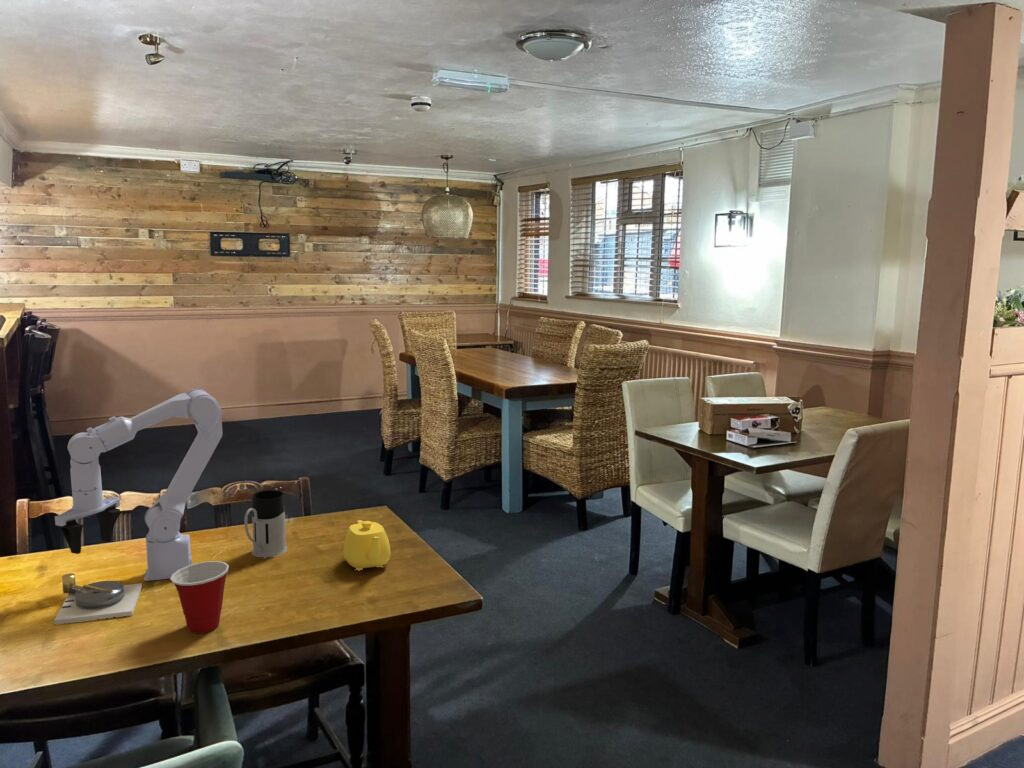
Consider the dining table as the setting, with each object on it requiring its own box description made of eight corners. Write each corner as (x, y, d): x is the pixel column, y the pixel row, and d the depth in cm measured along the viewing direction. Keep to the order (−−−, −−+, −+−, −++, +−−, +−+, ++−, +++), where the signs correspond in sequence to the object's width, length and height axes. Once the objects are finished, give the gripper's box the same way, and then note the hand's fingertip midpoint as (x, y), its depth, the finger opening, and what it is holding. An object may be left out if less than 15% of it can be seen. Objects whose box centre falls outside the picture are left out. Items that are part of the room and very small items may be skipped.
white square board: (141, 587, 166) (141, 582, 166) (132, 615, 153) (131, 610, 153) (70, 595, 162) (70, 590, 161) (54, 624, 149) (54, 619, 148)
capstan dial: (133, 593, 160) (132, 578, 159) (97, 611, 151) (96, 595, 151) (84, 582, 165) (83, 567, 164) (46, 598, 157) (44, 582, 156)
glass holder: (294, 547, 191) (292, 491, 189) (263, 568, 178) (261, 508, 176) (264, 543, 194) (262, 488, 191) (231, 564, 180) (228, 504, 178)
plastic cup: (184, 614, 154) (181, 559, 152) (237, 613, 155) (235, 558, 153) (164, 640, 143) (161, 581, 142) (222, 639, 144) (219, 581, 142)
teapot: (400, 575, 176) (400, 532, 174) (354, 583, 171) (353, 538, 169) (379, 548, 192) (379, 509, 190) (337, 555, 187) (336, 514, 185)
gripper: (102, 476, 171) (106, 533, 173) (42, 494, 157) (48, 555, 159) (125, 480, 168) (129, 537, 170) (66, 498, 155) (71, 560, 157)
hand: (91, 546), depth 165 cm, fingers open, 7 cm apart
